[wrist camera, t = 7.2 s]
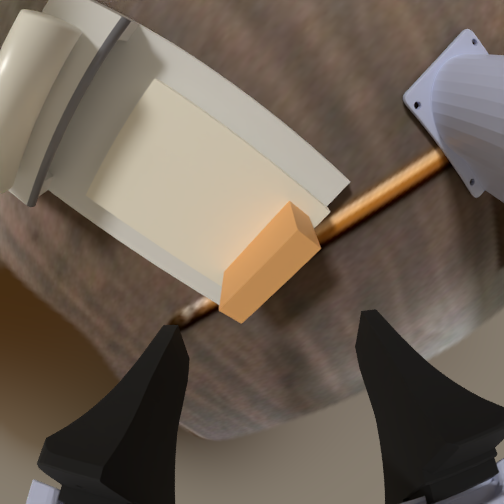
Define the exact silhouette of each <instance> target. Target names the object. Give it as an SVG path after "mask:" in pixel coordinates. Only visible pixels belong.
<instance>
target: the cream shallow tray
mask: <svg viewBox="0 0 504 504" xmlns="http://www.w3.org/2000/svg"><path fill="white" fill-rule="evenodd" d="M86 196H87V197H89V198H90V199H91V200H93V201H94V202H96V203H97V204H98V205H100V206H101V207H103V208H104V209H106V210H107V211H108V212H110V213H111V214H113V215H114V216H116V217H117V218H118V219H120V220H121V221H123V222H124V223H126V224H127V225H129V226H130V227H132V228H133V229H135V230H136V231H137V232H139V233H140V234H142V235H143V236H145V237H146V238H148V239H149V240H151V241H152V242H154V243H155V244H157V245H158V246H160V247H161V248H163V249H164V250H166V251H167V252H169V253H170V254H172V255H173V256H175V257H176V258H178V259H179V260H181V261H182V262H184V263H186V264H187V265H189V266H190V267H192V268H193V269H195V270H196V271H198V272H199V273H201V274H203V275H204V276H206V277H207V278H209V279H210V280H212V281H214V282H215V283H217V284H218V285H220V286H221V287H222V290H221V297H220V305H219V311H221V312H223V313H224V314H226V315H228V316H229V317H231V318H233V319H234V320H236V321H238V322H240V323H241V324H242V323H243V322H244V321H245V320H246V319H247V318H248V317H249V316H250V315H251V314H252V313H254V312H255V311H256V310H257V309H258V308H259V307H260V306H261V305H262V304H263V303H264V302H265V301H267V300H268V299H269V298H270V297H271V296H272V295H273V294H274V293H275V292H276V291H277V290H278V289H279V288H280V287H281V286H282V285H284V284H285V283H286V282H287V281H288V280H289V279H290V278H291V277H292V276H293V275H294V274H295V273H296V272H297V271H298V270H299V269H300V268H301V267H302V266H303V265H304V264H305V263H307V262H308V261H309V260H310V259H311V258H312V257H313V256H314V255H315V254H316V253H317V252H318V251H319V250H320V249H321V247H320V244H319V241H318V239H317V236H316V233H315V231H314V228H315V227H316V226H317V225H318V224H319V223H320V222H321V221H322V220H323V219H324V218H325V217H326V216H327V215H328V214H329V213H330V210H329V208H328V207H327V206H325V205H324V204H323V203H322V202H321V201H320V200H319V199H317V198H316V197H315V196H314V195H313V194H311V193H310V192H309V191H308V190H307V189H305V188H304V187H303V186H302V185H301V184H299V183H298V182H297V181H296V180H295V179H293V178H292V177H291V176H290V175H289V174H287V173H286V172H285V171H284V170H282V169H281V168H280V167H279V166H277V165H276V164H275V163H274V162H272V161H271V160H270V159H269V158H267V157H266V156H265V155H263V154H262V153H261V152H260V151H258V150H257V149H256V148H254V147H253V146H252V145H251V144H249V143H248V142H247V141H245V140H244V139H243V138H241V137H240V136H239V135H237V134H236V133H235V132H233V131H232V130H231V129H229V128H228V127H227V126H225V125H224V124H223V123H221V122H220V121H218V120H217V119H216V118H214V117H213V116H211V115H210V114H209V113H207V112H206V111H204V110H203V109H202V108H200V107H199V106H197V105H196V104H195V103H193V102H192V101H190V100H189V99H187V98H186V97H184V96H183V95H181V94H180V93H179V92H177V91H176V90H174V89H173V88H171V87H170V86H168V85H167V84H165V83H164V82H162V81H160V80H159V79H154V80H153V81H152V83H151V84H150V86H149V87H148V88H147V90H146V91H145V93H144V94H143V96H142V97H141V99H140V100H139V102H138V103H137V105H136V106H135V108H134V110H133V111H132V113H131V114H130V116H129V117H128V119H127V121H126V122H125V124H124V126H123V127H122V129H121V130H120V132H119V134H118V136H117V137H116V139H115V141H114V142H113V144H112V146H111V148H110V149H109V151H108V153H107V155H106V157H105V158H104V160H103V162H102V164H101V166H100V168H99V170H98V172H97V174H96V175H95V177H94V179H93V181H92V183H91V185H90V187H89V189H88V191H87V193H86Z"/></svg>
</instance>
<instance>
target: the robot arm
mask: <svg viewBox="0 0 504 504" xmlns="http://www.w3.org/2000/svg"><path fill="white" fill-rule="evenodd" d="M472 40H473V41H474V45H473V43H472ZM403 101H404V103H405V105H406V106H407V107H408V108H409V109H410V111H411V112H412V113H413V114H414V115H415V117H416V118H417V119H418V120H419V121H420V123H421V124H422V125H423V126H424V128H425V129H426V130H427V131H428V133H429V134H430V135H431V137H432V138H433V139H434V141H435V142H436V143H437V145H438V146H439V147H440V149H441V150H442V151H443V153H444V154H445V156H446V157H447V158H448V160H449V161H450V163H451V164H452V166H453V167H454V168H455V170H456V171H457V173H458V174H459V176H460V177H461V179H462V180H463V182H464V184H465V185H466V187H467V188H468V190H469V191H470V193H471V195H472V196H474V197H476V198H478V197H479V196H481V194H482V193H483V192H484V191H487V192H488V193H490V194H491V195H493V196H494V197H496V198H497V199H499V200H500V201H502V202H503V203H504V55H489V54H488V53H487V51H486V50H485V48H484V47H483V45H482V44H481V42H480V41H479V40H478V38H477V37H476V35H475V34H474V33H473V32H472V31H471V30H469V29H465V30H463V31H462V32H461V33H460V34H459V35H458V36H457V37H456V39H455V40H454V41H453V42H452V43H451V44H450V45H449V46H448V47H447V48H446V49H445V50H444V51H443V53H442V54H441V55H440V56H439V57H438V58H437V59H436V60H435V61H434V62H433V63H432V64H431V66H430V67H429V68H428V69H427V70H426V71H425V72H424V73H423V74H422V75H421V76H420V77H419V78H418V79H417V81H416V82H415V83H414V84H413V85H412V86H411V87H410V88H409V89H408V90H407V91H406V92H405V94H404V95H403ZM415 102H417V103H418V108H417V109H415V107H414V103H415ZM471 179H472V182H471V183H470V180H471ZM355 348H356V353H357V358H358V363H359V367H360V371H361V374H362V377H363V380H364V383H365V386H366V389H367V392H368V395H369V398H370V401H371V405H372V408H373V411H374V414H375V418H376V422H377V428H378V434H379V439H380V446H381V453H382V461H383V470H384V482H385V484H384V485H385V504H504V458H503V459H501V460H499V461H498V462H497V463H496V462H495V459H494V457H496V456H497V452H496V449H495V447H496V446H497V445H498V444H499V443H500V442H501V441H502V440H503V439H504V407H502V406H499V405H497V404H495V403H492V402H490V401H487V400H485V399H483V398H481V397H479V396H477V395H476V394H474V393H472V392H470V391H468V390H467V389H465V388H463V387H462V386H460V385H458V384H457V383H455V382H453V381H452V380H451V379H449V378H448V377H446V376H445V375H444V374H442V373H441V372H439V371H438V370H437V369H436V368H434V367H433V366H432V365H431V364H429V363H428V362H427V361H426V360H425V359H424V358H423V357H422V356H421V355H419V354H418V353H417V352H416V351H415V350H414V349H413V348H412V347H411V346H410V345H409V344H408V343H407V342H406V341H405V340H404V339H403V338H402V337H401V336H400V335H399V334H398V333H397V332H396V331H395V329H394V328H393V327H392V326H391V325H390V324H389V323H388V322H387V321H386V320H385V319H384V318H383V316H382V315H381V314H380V313H379V312H378V311H377V310H376V309H375V310H367V311H361V317H360V323H359V329H358V334H357V340H356V345H355ZM188 372H189V356H188V353H187V350H186V347H185V345H184V342H183V339H182V336H181V333H180V330H179V327H178V325H164V326H163V327H162V328H161V329H160V331H159V332H158V333H157V335H156V336H155V338H154V339H153V340H152V342H151V343H150V344H149V346H148V347H147V348H146V350H145V351H144V353H143V354H142V355H141V356H140V358H139V359H138V360H137V362H136V363H135V364H134V365H133V367H132V368H131V369H130V370H129V371H128V373H127V374H126V375H125V376H124V377H123V379H122V380H121V381H120V382H119V383H118V384H117V385H116V386H115V387H114V388H113V389H112V390H111V391H110V392H109V393H108V394H107V395H106V396H105V397H104V398H103V399H102V400H101V401H100V402H99V403H98V404H96V405H95V406H94V407H93V408H91V409H90V410H89V411H88V412H87V413H85V414H84V415H83V416H81V417H80V418H79V419H77V420H76V421H74V422H73V423H71V424H70V425H68V426H67V427H65V428H63V429H62V430H60V431H58V432H56V433H55V434H53V435H51V436H49V437H47V438H46V440H45V443H44V445H43V448H42V451H41V453H40V456H39V459H38V462H37V465H38V467H39V468H40V469H41V470H42V471H43V472H44V473H46V474H47V475H48V476H50V477H51V478H53V479H54V480H56V481H57V482H59V483H60V484H62V487H61V490H59V489H57V488H55V487H52V486H50V485H47V484H45V483H42V482H40V481H37V480H35V479H34V480H33V481H32V484H31V488H30V491H29V495H28V498H27V502H26V504H175V455H176V454H175V453H176V441H177V431H178V425H179V420H180V415H181V411H182V406H183V401H184V396H185V391H186V387H187V382H188Z"/></svg>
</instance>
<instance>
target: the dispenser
mask: <svg viewBox="0 0 504 504" xmlns="http://www.w3.org/2000/svg"><path fill="white" fill-rule="evenodd" d="M154 79H159V80H160V81H162V82H164V83H165V84H167V85H168V86H170V87H171V88H173V89H174V90H176V91H177V92H179V93H180V94H181V95H183V96H184V97H186V98H187V99H189V100H190V101H192V102H193V103H195V104H196V105H197V106H199V107H200V108H202V109H203V110H204V111H206V112H207V113H209V114H210V115H211V116H213V117H214V118H216V119H217V120H218V121H220V122H221V123H223V124H224V125H225V126H227V127H228V128H229V129H231V130H232V131H233V132H235V133H236V134H237V135H239V136H240V137H241V138H243V139H244V140H245V141H247V142H248V143H249V144H251V145H252V146H253V147H254V148H256V149H257V150H258V151H260V152H261V153H262V154H263V155H265V156H266V157H267V158H269V159H270V160H271V161H272V162H274V163H275V164H276V165H277V166H279V167H280V168H281V169H282V170H284V171H285V172H286V173H287V174H289V175H290V176H291V177H292V178H293V179H295V180H296V181H297V182H298V183H299V184H301V185H302V186H303V187H304V188H305V189H307V190H308V191H309V192H310V193H311V194H313V195H314V196H315V197H316V198H317V199H319V200H320V201H321V202H322V203H323V204H324V205H325V206H328V205H329V204H330V203H331V202H332V201H333V200H334V198H335V197H336V196H337V195H338V194H339V193H340V192H341V191H342V190H343V189H344V188H345V187H346V186H347V185H348V184H349V183H350V181H349V180H348V179H347V178H346V177H345V176H344V175H343V174H342V173H341V172H340V171H339V170H338V169H337V168H336V167H335V166H333V165H332V164H331V163H330V162H329V161H328V160H327V159H326V158H325V157H323V156H322V155H321V154H320V153H319V152H318V151H317V150H316V149H314V148H313V147H312V146H311V145H310V144H309V143H308V142H306V141H305V140H304V139H303V138H302V137H300V136H299V135H298V134H297V133H296V132H295V131H293V130H292V129H291V128H290V127H289V126H287V125H286V124H285V123H284V122H282V121H281V120H280V119H279V118H277V117H276V116H275V115H274V114H272V113H271V112H270V111H269V110H267V109H266V108H265V107H264V106H262V105H261V104H260V103H258V102H257V101H256V100H254V99H253V98H252V97H250V96H249V95H248V94H246V93H245V92H244V91H242V90H241V89H240V88H238V87H237V86H236V85H234V84H233V83H231V82H230V81H229V80H227V79H226V78H224V77H223V76H222V75H220V74H219V73H217V72H216V71H214V70H213V69H212V68H210V67H209V66H207V65H206V64H204V63H203V62H201V61H200V60H198V59H197V58H195V57H194V56H192V55H191V54H189V53H188V52H186V51H184V50H183V49H181V48H180V47H178V46H176V45H175V44H173V43H172V42H170V41H168V40H167V39H165V38H163V37H162V36H160V35H158V34H157V33H155V32H153V31H152V30H150V29H148V28H146V27H145V26H143V25H141V24H139V23H138V22H136V21H134V20H132V19H130V18H129V17H127V16H125V15H123V14H121V13H119V12H117V11H115V10H113V9H111V8H109V7H107V6H105V5H103V4H101V3H99V2H97V1H95V0H48V2H47V4H46V5H45V7H44V8H43V10H42V12H39V11H34V10H29V9H22V10H21V11H20V12H19V14H18V16H17V18H16V20H15V22H14V23H13V25H12V27H11V29H10V31H9V33H8V35H7V37H6V39H5V41H4V43H3V45H2V48H1V50H0V194H2V193H5V192H6V191H10V192H11V193H12V194H13V195H14V196H16V197H17V198H18V199H19V200H21V201H22V202H23V203H24V204H26V205H27V206H29V207H34V206H35V205H36V202H37V199H38V197H39V196H40V195H42V194H43V193H45V192H46V191H47V190H49V191H50V192H52V193H53V194H54V195H56V196H57V197H58V198H60V199H61V200H62V201H64V202H65V203H66V204H68V205H69V206H71V207H72V208H73V209H75V210H76V211H77V212H79V213H80V214H82V215H83V216H84V217H86V218H87V219H89V220H90V221H91V222H93V223H94V224H96V225H97V226H99V227H100V228H101V229H103V230H104V231H106V232H107V233H109V234H110V235H112V236H113V237H114V238H116V239H117V240H119V241H120V242H122V243H123V244H125V245H126V246H128V247H129V248H131V249H132V250H134V251H135V252H137V253H138V254H140V255H141V256H143V257H144V258H146V259H147V260H149V261H150V262H152V263H153V264H155V265H156V266H158V267H159V268H161V269H163V270H164V271H166V272H167V273H169V274H170V275H172V276H173V277H175V278H177V279H178V280H180V281H181V282H183V283H185V284H186V285H188V286H189V287H191V288H193V289H194V290H196V291H197V292H199V293H201V294H202V295H204V296H205V297H207V298H209V299H210V300H212V301H214V302H215V303H217V304H219V305H220V297H221V290H222V287H221V286H220V285H218V284H217V283H215V282H214V281H212V280H210V279H209V278H207V277H206V276H204V275H203V274H201V273H199V272H198V271H196V270H195V269H193V268H192V267H190V266H189V265H187V264H186V263H184V262H182V261H181V260H179V259H178V258H176V257H175V256H173V255H172V254H170V253H169V252H167V251H166V250H164V249H163V248H161V247H160V246H158V245H157V244H155V243H154V242H152V241H151V240H149V239H148V238H146V237H145V236H143V235H142V234H140V233H139V232H137V231H136V230H135V229H133V228H132V227H130V226H129V225H127V224H126V223H124V222H123V221H121V220H120V219H118V218H117V217H116V216H114V215H113V214H111V213H110V212H108V211H107V210H106V209H104V208H103V207H101V206H100V205H98V204H97V203H96V202H94V201H93V200H91V199H90V198H89V197H87V196H86V193H87V191H88V189H89V187H90V185H91V183H92V181H93V179H94V177H95V175H96V174H97V172H98V170H99V168H100V166H101V164H102V162H103V160H104V158H105V157H106V155H107V153H108V151H109V149H110V148H111V146H112V144H113V142H114V141H115V139H116V137H117V136H118V134H119V132H120V130H121V129H122V127H123V126H124V124H125V122H126V121H127V119H128V117H129V116H130V114H131V113H132V111H133V110H134V108H135V106H136V105H137V103H138V102H139V100H140V99H141V97H142V96H143V94H144V93H145V91H146V90H147V88H148V87H149V86H150V84H151V83H152V81H153V80H154Z"/></svg>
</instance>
